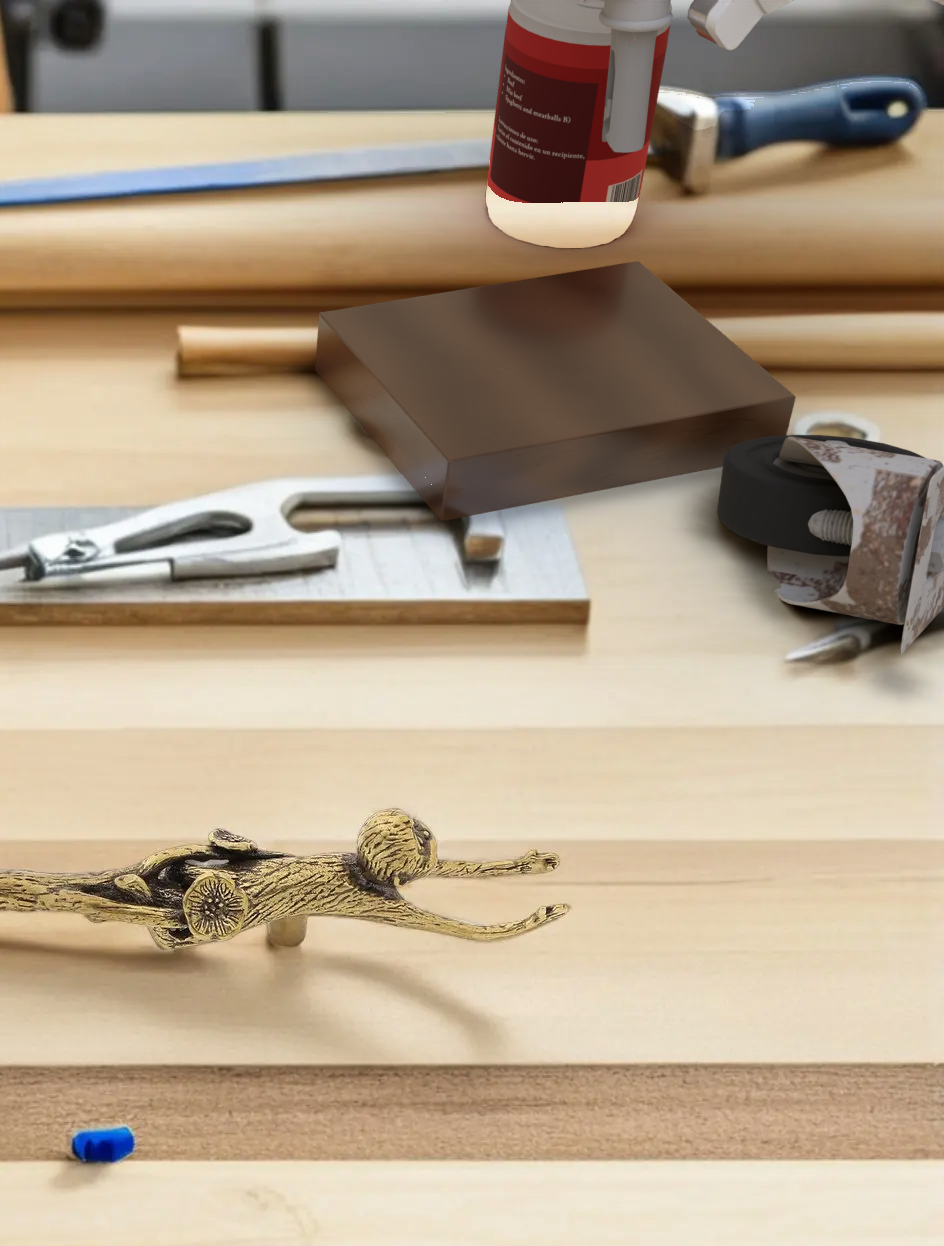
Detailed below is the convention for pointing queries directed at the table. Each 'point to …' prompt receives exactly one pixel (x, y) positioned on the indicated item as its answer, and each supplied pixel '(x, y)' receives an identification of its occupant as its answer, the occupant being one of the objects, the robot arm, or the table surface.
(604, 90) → the canned food
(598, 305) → the plinth
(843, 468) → the caster wheel
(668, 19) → the mechanical component
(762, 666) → the table surface
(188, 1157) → the table surface
